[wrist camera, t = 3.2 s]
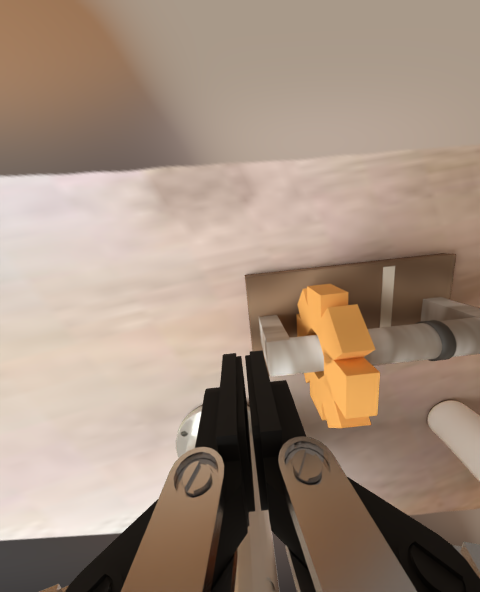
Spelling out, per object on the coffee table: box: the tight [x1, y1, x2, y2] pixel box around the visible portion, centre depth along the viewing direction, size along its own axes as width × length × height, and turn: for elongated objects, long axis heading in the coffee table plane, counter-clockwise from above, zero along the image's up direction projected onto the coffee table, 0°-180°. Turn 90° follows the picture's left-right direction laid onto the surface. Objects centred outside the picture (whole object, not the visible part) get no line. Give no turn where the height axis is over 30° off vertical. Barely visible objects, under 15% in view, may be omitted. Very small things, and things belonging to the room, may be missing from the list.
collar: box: [296, 284, 380, 428], centre depth 19 cm, size 11×2×11 cm, turn 6°
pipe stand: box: [245, 253, 480, 377], centre depth 22 cm, size 12×22×9 cm, turn 96°
